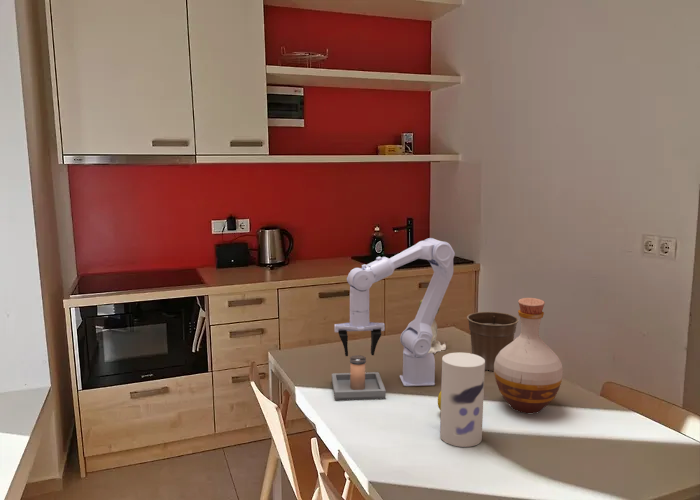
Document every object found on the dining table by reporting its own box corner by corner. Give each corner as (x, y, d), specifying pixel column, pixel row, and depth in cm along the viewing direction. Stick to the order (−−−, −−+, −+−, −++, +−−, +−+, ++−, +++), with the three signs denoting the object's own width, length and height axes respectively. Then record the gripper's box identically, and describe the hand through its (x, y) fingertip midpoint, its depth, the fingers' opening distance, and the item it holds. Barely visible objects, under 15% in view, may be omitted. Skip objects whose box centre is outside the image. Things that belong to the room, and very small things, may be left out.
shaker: (364, 384, 168) (364, 355, 167) (366, 390, 164) (367, 360, 162) (348, 384, 168) (349, 355, 166) (350, 390, 163) (351, 360, 162)
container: (457, 451, 131) (459, 368, 128) (431, 433, 140) (433, 355, 136) (490, 441, 135) (493, 361, 132) (463, 424, 144) (466, 349, 141)
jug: (495, 388, 167) (500, 289, 163) (560, 396, 161) (566, 294, 157) (489, 416, 149) (493, 305, 144) (561, 426, 143) (568, 311, 139)
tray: (378, 379, 174) (378, 372, 173) (385, 399, 160) (385, 390, 159) (331, 381, 172) (331, 373, 172) (334, 400, 158) (334, 392, 158)
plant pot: (460, 369, 183) (462, 321, 180) (470, 354, 197) (472, 309, 195) (512, 377, 176) (515, 327, 174) (518, 360, 191) (521, 314, 189)
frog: (403, 348, 203) (404, 299, 200) (425, 341, 212) (426, 293, 209) (429, 356, 195) (430, 305, 192) (450, 348, 204) (452, 298, 201)
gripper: (335, 314, 159) (335, 360, 161) (386, 312, 160) (386, 358, 162) (333, 307, 166) (334, 352, 168) (382, 306, 167) (382, 350, 169)
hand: (359, 354), depth 166 cm, fingers open, 7 cm apart
